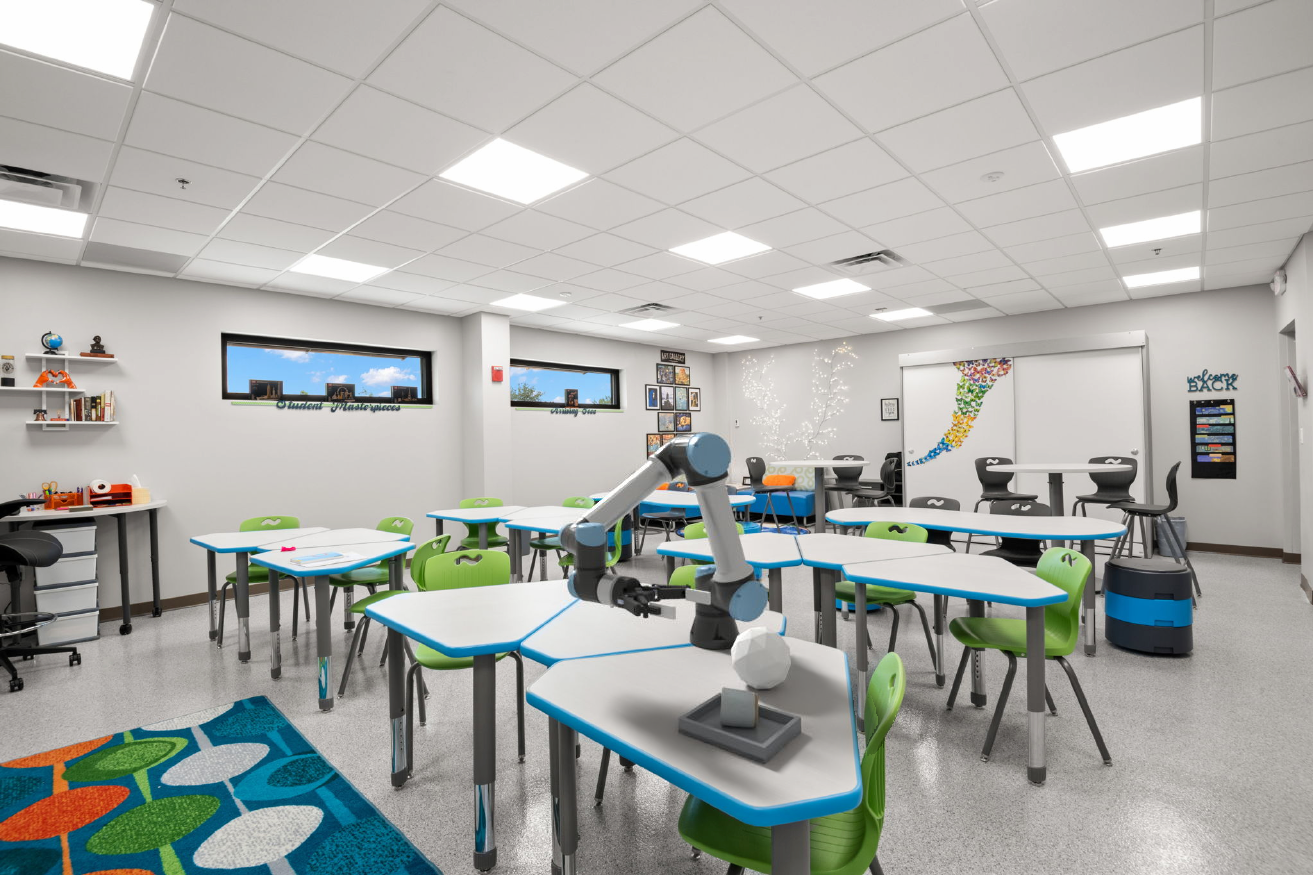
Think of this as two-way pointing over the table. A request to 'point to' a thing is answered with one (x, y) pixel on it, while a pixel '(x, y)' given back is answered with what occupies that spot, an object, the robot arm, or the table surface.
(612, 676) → the table surface
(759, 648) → the geometric shape
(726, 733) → the tray
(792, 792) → the table surface
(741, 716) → the grey rounded cylinder
